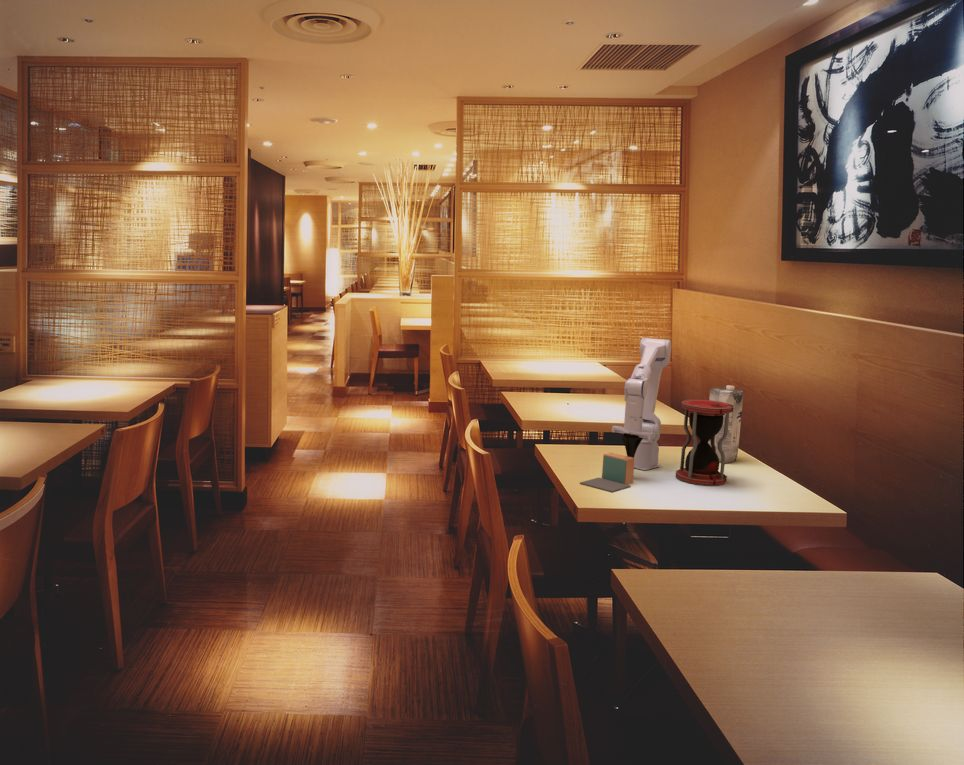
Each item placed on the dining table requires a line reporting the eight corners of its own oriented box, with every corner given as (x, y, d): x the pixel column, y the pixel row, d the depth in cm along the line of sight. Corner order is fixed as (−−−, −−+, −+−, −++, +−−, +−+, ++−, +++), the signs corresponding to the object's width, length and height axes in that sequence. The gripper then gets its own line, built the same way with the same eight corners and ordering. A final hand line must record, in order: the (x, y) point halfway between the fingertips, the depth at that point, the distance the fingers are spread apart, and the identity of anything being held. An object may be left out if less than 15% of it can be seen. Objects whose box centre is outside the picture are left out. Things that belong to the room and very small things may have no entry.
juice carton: (725, 464, 296) (732, 388, 292) (700, 458, 304) (707, 384, 300) (740, 461, 301) (747, 387, 297) (715, 455, 309) (722, 382, 305)
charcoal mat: (598, 478, 268) (598, 477, 268) (630, 486, 260) (630, 485, 260) (579, 483, 261) (579, 482, 261) (612, 492, 253) (612, 491, 253)
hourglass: (710, 488, 263) (718, 410, 259) (665, 477, 274) (672, 401, 270) (735, 480, 274) (742, 405, 270) (691, 470, 285) (697, 397, 281)
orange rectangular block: (608, 476, 272) (610, 452, 270) (632, 482, 266) (634, 458, 264) (601, 478, 268) (602, 454, 267) (625, 485, 262) (626, 460, 261)
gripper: (607, 413, 271) (604, 454, 273) (646, 421, 261) (643, 464, 263) (620, 411, 276) (617, 452, 278) (658, 418, 266) (655, 460, 268)
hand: (630, 457), depth 271 cm, fingers closed
